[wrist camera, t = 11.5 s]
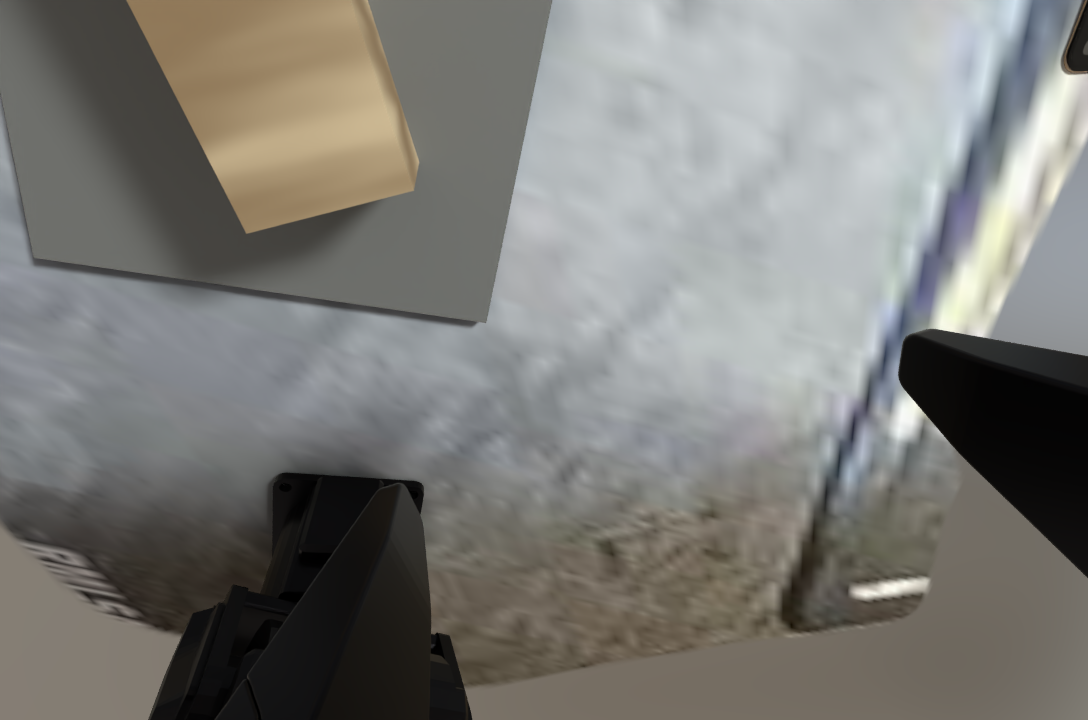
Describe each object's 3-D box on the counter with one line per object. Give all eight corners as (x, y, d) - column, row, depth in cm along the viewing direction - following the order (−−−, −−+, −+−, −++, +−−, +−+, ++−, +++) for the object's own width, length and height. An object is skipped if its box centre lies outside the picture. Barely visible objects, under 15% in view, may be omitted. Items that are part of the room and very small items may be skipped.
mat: (485, 316, 22) (485, 322, 21) (45, 252, 18) (33, 257, 18) (611, -310, 14) (618, -323, 13) (-131, -667, 10) (-160, -705, 10)
